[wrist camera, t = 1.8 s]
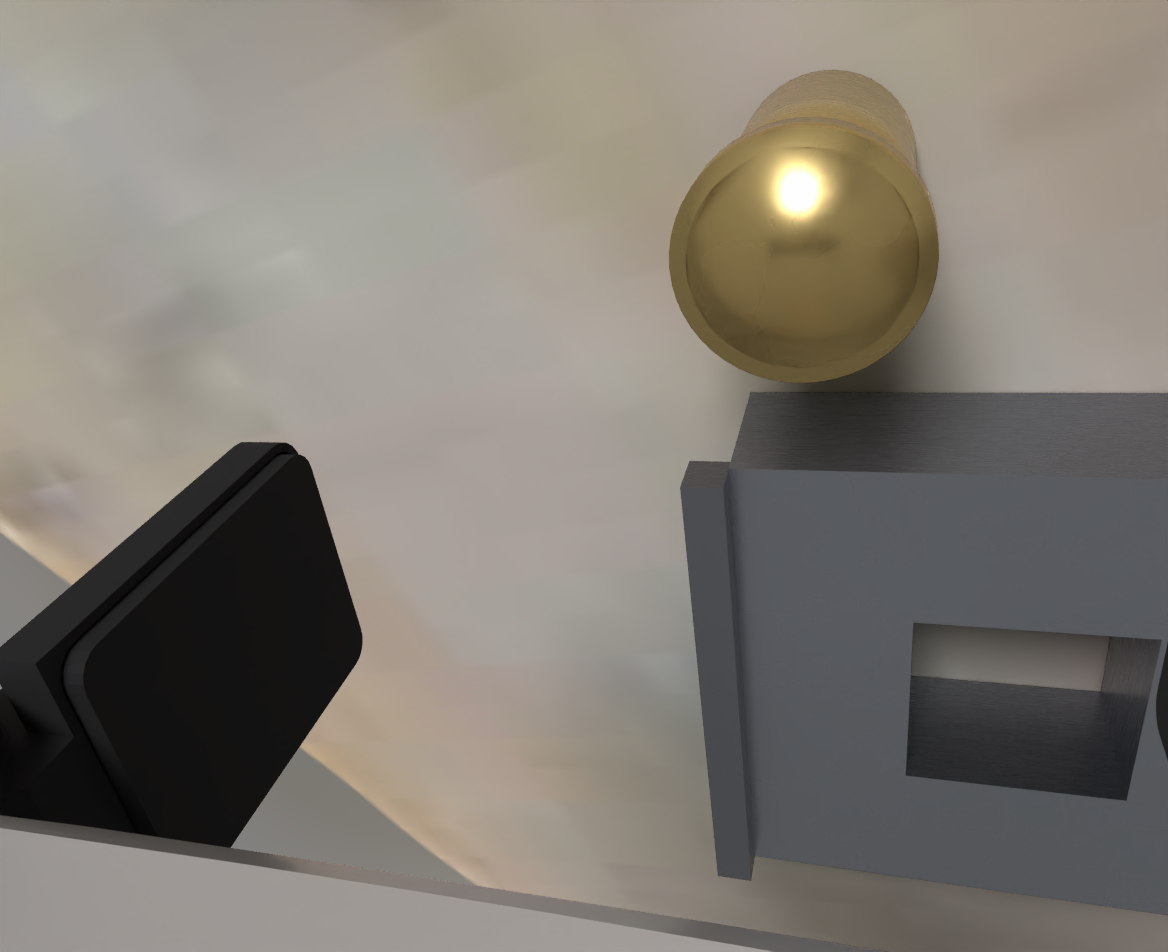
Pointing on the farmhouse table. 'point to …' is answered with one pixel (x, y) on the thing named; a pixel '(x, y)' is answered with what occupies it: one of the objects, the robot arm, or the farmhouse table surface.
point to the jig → (947, 597)
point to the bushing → (809, 234)
